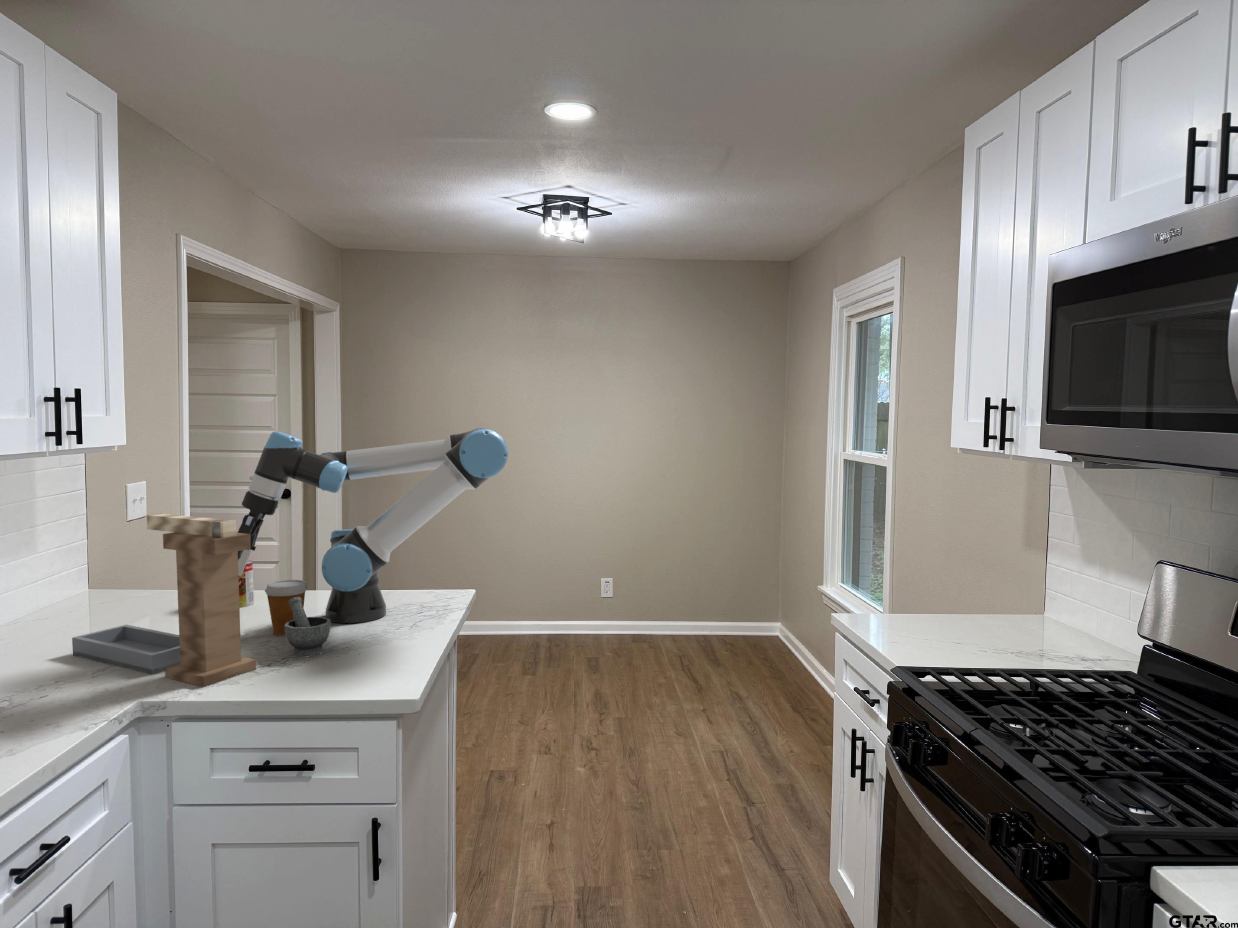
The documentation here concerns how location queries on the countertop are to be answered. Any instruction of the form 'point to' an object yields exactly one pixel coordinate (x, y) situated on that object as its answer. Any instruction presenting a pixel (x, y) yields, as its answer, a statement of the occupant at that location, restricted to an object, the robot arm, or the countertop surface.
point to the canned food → (246, 586)
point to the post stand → (208, 607)
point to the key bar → (192, 525)
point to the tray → (130, 648)
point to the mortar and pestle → (306, 631)
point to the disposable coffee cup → (283, 601)
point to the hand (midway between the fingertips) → (229, 579)
